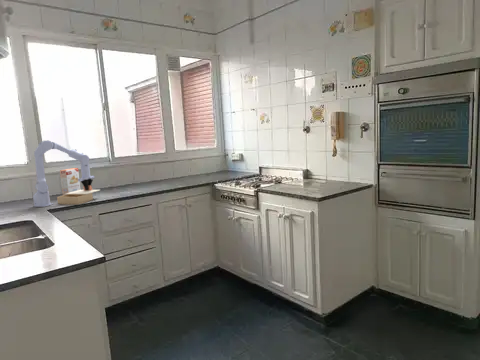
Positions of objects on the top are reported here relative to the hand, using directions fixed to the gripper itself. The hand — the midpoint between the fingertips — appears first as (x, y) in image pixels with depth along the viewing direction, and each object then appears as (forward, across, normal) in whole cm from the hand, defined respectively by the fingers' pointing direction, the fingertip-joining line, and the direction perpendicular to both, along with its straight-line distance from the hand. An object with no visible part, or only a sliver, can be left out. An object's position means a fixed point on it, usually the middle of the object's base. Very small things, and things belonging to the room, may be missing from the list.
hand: (87, 189), depth 243 cm
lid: (+1, -5, 0) cm, 5 cm away
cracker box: (+6, +8, +22) cm, 24 cm away
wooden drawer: (+6, -13, 0) cm, 14 cm away
